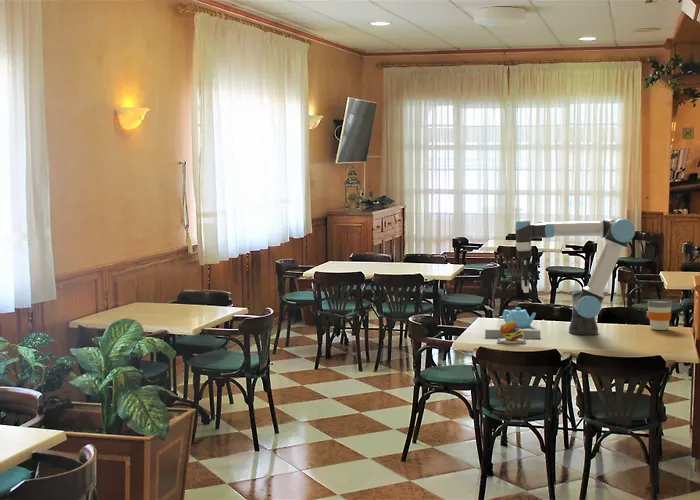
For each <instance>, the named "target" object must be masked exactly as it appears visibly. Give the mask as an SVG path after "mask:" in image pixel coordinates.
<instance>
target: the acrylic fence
mask: <svg viewBox="0 0 700 500" xmlns="http://www.w3.org/2000/svg"><path fill="white" fill-rule="evenodd" d="M521 330H522V331H523V334H524V337H522V338H526V339H541V330H539V329H535V330H534V329H531V330H530V329H521ZM484 332H485V333H484V335H485V336H484V337H485V338H487V337H488V339H489V338H495V339H498V338H505V337H504V336H503V334H501V333H500V329H487V328H486V329H485V330H484Z"/></svg>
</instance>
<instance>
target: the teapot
mask: <svg viewBox="0 0 700 500" xmlns="http://www.w3.org/2000/svg"><path fill="white" fill-rule="evenodd" d="M536 314H537V313H536V312H532V314H531V315H529V313H528V312H527V309H525V308H524V309H521V307H520V306H519V307H515V309H511V310H509V309H504V310H503V312H502V315H501V319H503V321H504V322H505V324H506V323H509V322H510V321H513V322H516V323H517V325H516V327H517V328H520V329H522V328H529V327H530V326H531V324H532V322H533V321H534V319H535V317H536ZM516 327H515V328H516Z"/></svg>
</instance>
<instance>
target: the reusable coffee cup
mask: <svg viewBox="0 0 700 500" xmlns="http://www.w3.org/2000/svg"><path fill="white" fill-rule="evenodd" d="M672 302H673V301H672V300H668V299H648V300H647V303H646V304H647V307H648V310H647V314H648V320H649V324H650V326H649V327H650V329H651V330H656V331H657V330H658V331H665V330H669V325H670V321H671V318H672V307H673V303H672Z"/></svg>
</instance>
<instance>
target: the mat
mask: <svg viewBox="0 0 700 500" xmlns="http://www.w3.org/2000/svg"><path fill="white" fill-rule="evenodd" d="M526 341H527V338H520V339H517V340H513V341H509V340H506V339H505V338H497V342H496V344H498V345H527V342H526Z"/></svg>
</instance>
